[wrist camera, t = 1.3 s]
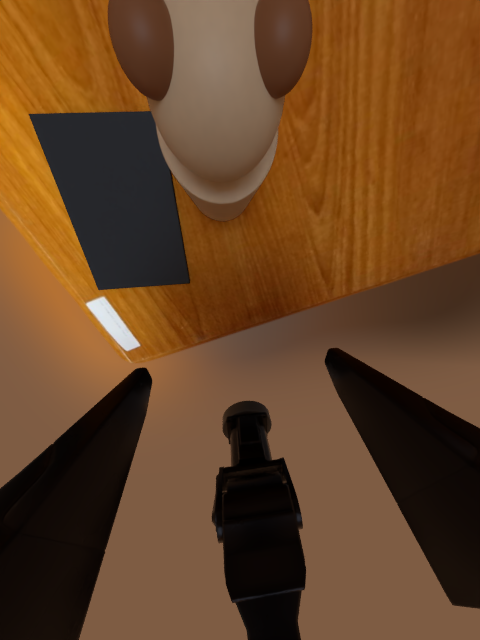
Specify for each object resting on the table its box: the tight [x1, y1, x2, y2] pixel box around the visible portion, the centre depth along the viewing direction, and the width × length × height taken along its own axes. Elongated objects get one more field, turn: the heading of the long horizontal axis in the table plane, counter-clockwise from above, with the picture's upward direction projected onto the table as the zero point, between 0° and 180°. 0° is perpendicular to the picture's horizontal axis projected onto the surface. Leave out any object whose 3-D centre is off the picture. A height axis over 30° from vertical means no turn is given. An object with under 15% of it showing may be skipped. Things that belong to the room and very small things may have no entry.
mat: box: [29, 111, 190, 290], centre depth 17 cm, size 14×10×1 cm
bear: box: [108, 0, 312, 221], centre depth 10 cm, size 6×6×14 cm
